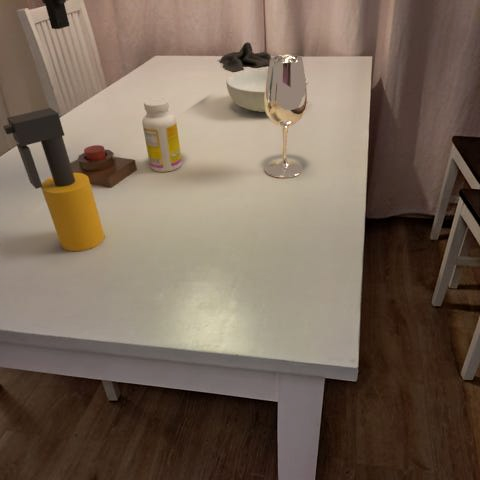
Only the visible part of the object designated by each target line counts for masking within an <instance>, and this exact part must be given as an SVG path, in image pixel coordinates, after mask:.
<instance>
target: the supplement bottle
mask: <svg viewBox="0 0 480 480" xmlns="http://www.w3.org/2000/svg"><path fill="white" fill-rule="evenodd" d="M143 108H144V111H145V112H146V114H145V115H144V116H143V118H142V122H141V123H142V124H141V125H142V128H143V136H144V140H145V146H146V151H147V156H148V161H149V166H150V168H151V170H153V171H155V172H160V173H165V172H172V171H175V170H177V169H179V168H180V167H181V166H182V163H183V161H182V153H181V152H182V151H181V145H180V137H179V132H178V124H177V119H176V116H175V115H174V114H173V113H172V112H170V110H169V109H170V103H169V100H168V99H167V98H164V97H157V98H155V97H153V98H149V99H146V100H145V101H143Z"/></svg>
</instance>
